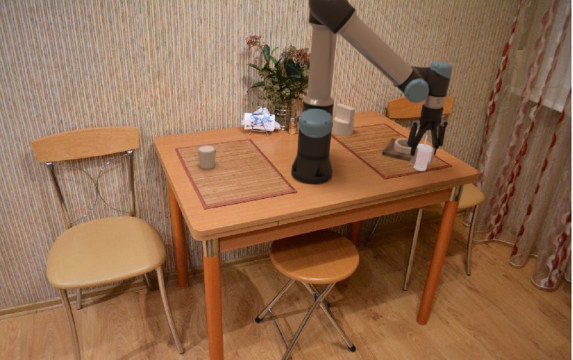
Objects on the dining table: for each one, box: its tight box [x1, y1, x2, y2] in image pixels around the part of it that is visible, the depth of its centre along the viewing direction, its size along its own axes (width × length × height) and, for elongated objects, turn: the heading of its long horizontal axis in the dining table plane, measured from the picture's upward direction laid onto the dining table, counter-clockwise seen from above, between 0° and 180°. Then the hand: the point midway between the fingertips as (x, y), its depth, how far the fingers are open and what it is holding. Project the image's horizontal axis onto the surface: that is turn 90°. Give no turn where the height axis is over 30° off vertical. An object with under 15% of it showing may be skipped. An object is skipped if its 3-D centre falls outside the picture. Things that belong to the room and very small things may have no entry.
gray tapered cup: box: [196, 144, 217, 170], centre depth 166 cm, size 7×7×7 cm
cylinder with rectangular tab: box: [332, 103, 356, 137], centre depth 200 cm, size 9×9×12 cm
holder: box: [382, 137, 411, 162], centre depth 186 cm, size 16×16×2 cm
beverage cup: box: [413, 134, 433, 172], centre depth 171 cm, size 6×6×14 cm
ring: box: [394, 137, 411, 154], centre depth 185 cm, size 10×10×2 cm
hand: (421, 162), depth 173 cm, fingers closed on beverage cup, 6 cm apart
